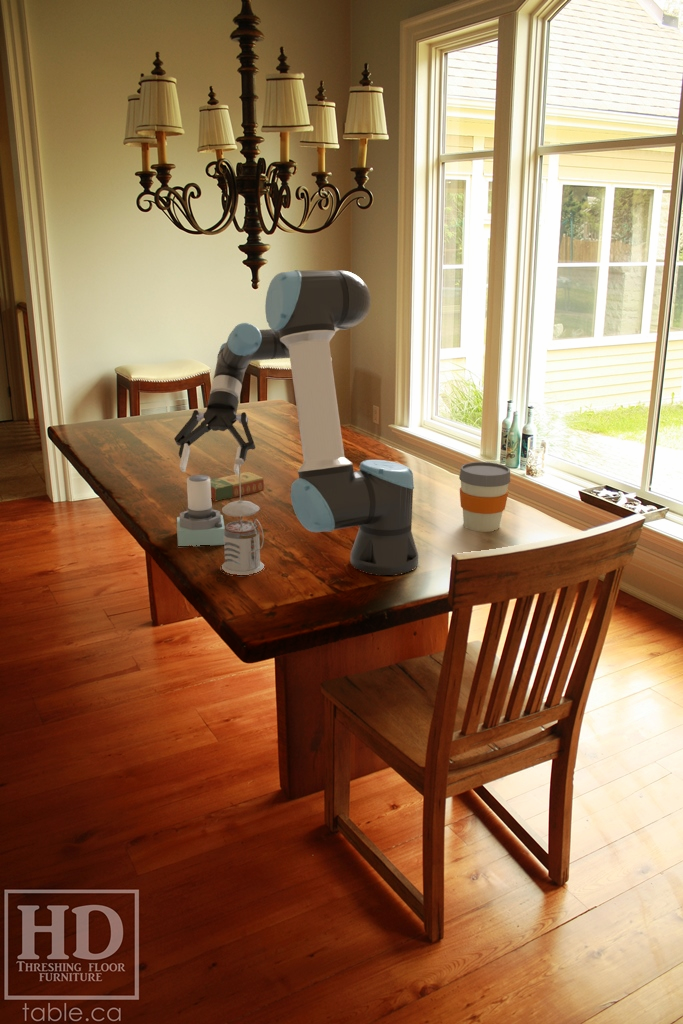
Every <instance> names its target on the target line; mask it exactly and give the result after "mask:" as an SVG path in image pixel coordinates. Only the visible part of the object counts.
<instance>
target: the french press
mask: <svg viewBox="0 0 683 1024" xmlns="http://www.w3.org/2000/svg"><path fill="white" fill-rule="evenodd" d="M235 459H236V458H235ZM234 464H237V465H239V485H240V496H239V500H235V501H231V502H229V503H227V504H225V506H224V505H223V507H222V508H221V509H222V510H221V512H222V513H223V514H224V515H226V516H228V517H235V518H236V517H238V518H240V520H234V521H231V522H228V523H227V524H226V525H224V527H225V532H224V543H225V545H224V546H223V547H224V548H223V549H224V562H223V563H222V565H221V566H222V569H223V570H224V571H225V572H227V573H230V574H237V575H249V574H253V573H257V572H259V571H261V570H262V569H263V568H264V566H265V564H264V563H263V562H262V561H261V550H262V548H263V546H264V542H265V536H264V530H263V527H262V526H263V525H262V524H261V522H260V521H259V520H258V518H254V519H253V520H254V522H253V521H251V520H249V519H248V520H243V519H242V517H243V518H244V517H249V516H253V515H255V514H257V513H259V511H260V509H261V508H260V506H259V505H257V504H255V503H253V502H252V501H250V500H249V501H248V500H242V495H241V482H240V473H241V466H240V465H244V464H245V462H244V460H243V459H242V458H238V459H236V460H234ZM256 522H257V523H256ZM258 524H259V526H258ZM258 527H260V529H261V533H262V542H260V531H259V529H258ZM252 535H255V536H253V537H250V538H249V536H252ZM242 537H248V538H242ZM252 541H253V542H252ZM260 543H261V546H260ZM252 546H253V547H252ZM264 569H265V568H264ZM264 569H263V570H264ZM261 572H262V571H261ZM259 573H260V572H259ZM257 574H258V573H257ZM249 576H250V575H249Z"/></svg>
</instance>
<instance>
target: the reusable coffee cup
mask: <svg viewBox="0 0 683 1024" xmlns="http://www.w3.org/2000/svg"><path fill="white" fill-rule="evenodd" d="M459 480H460V488H459V498H460V499H459V500H460V507H461V508H462V517H463V518H462V519H463V526H464V527H465V528H466V529H468V530H470V531H475V532H483V533H484V532H485V533H488V532H493V531H494V530H495V531H497V530H498V528H499V529H500V526H501V522H502V517H503V512H504V511H505V509H506V505H507V500H508V496H509V491H508V488H509V485H510V483H511V469H510V468H509V466H507V465H504V464H501V463H497V462H490V461H474V462H467V463H465V464H463V465H460V472H459Z"/></svg>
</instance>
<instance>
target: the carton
mask: <svg viewBox="0 0 683 1024" xmlns="http://www.w3.org/2000/svg"><path fill="white" fill-rule="evenodd" d="M210 480H211V498H212V499H214V500H213V501H215V500H220V501H223V500H222V499H224V500H227V499H226V498H228V499H231V498H235V497H236V498H237V497H240V485H239V475H236V474H235V473H234V474H231V475H229V474H228V475H225V476H221V477H216V478H210ZM240 482H241V496H245V495H249V494H250V495H251V494H253V493H258V492H263V491H264V490H265V483H264V477H263V476H260V475H258V474H255V473H253V472H250V471H243V472H240ZM212 499H211V500H212Z"/></svg>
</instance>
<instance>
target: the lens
mask: <svg viewBox="0 0 683 1024" xmlns="http://www.w3.org/2000/svg"><path fill="white" fill-rule="evenodd" d="M186 489H187V492H186V493H187V510H188V516H189V519H190V520H194V521H195V520H208V519H211V518H212V509H213V505H212V499H211V477H210V476H208V475H206V474H193V475H190V476H188V477H187V478H186Z"/></svg>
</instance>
